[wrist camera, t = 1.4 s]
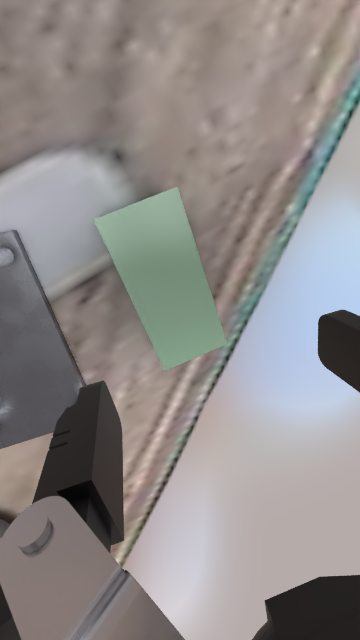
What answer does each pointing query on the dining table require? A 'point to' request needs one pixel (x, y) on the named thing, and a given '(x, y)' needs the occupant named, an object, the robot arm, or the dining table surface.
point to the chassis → (30, 352)
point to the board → (164, 276)
